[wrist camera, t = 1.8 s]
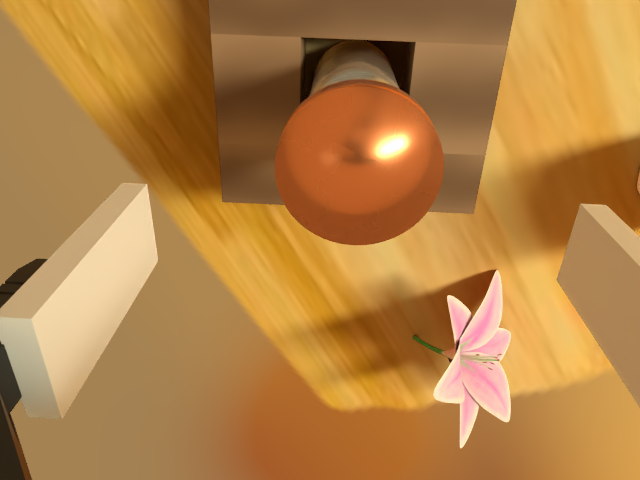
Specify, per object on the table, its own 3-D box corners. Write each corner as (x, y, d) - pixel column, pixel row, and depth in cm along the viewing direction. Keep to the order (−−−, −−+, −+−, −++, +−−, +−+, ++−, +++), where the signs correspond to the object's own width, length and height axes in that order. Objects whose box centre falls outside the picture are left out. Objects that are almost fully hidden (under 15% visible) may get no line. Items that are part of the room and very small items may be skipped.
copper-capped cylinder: (304, 25, 31) (273, 82, 18) (409, 29, 31) (457, 91, 18) (302, 128, 34) (275, 241, 21) (398, 132, 34) (431, 249, 21)
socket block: (221, -50, 29) (204, -49, 26) (502, -40, 29) (524, -38, 25) (234, 177, 36) (222, 201, 33) (461, 187, 36) (473, 213, 32)
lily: (481, 382, 46) (566, 440, 38) (365, 409, 42) (430, 480, 34) (488, 254, 44) (581, 283, 35) (365, 268, 40) (436, 306, 31)
